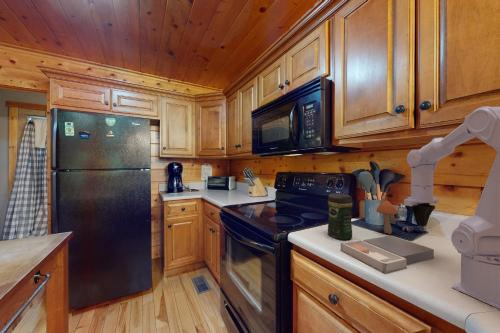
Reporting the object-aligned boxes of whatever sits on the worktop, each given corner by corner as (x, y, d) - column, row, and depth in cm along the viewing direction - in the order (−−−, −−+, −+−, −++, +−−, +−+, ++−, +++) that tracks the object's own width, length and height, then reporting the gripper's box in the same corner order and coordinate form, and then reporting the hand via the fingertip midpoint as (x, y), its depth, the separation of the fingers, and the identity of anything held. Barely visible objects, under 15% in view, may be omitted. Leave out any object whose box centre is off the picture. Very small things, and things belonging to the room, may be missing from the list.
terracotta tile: (359, 251, 66) (359, 257, 66) (369, 249, 68) (369, 255, 68) (348, 246, 70) (348, 251, 70) (357, 244, 72) (357, 249, 72)
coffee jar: (356, 239, 83) (356, 194, 83) (341, 241, 81) (341, 195, 80) (338, 231, 92) (338, 191, 92) (324, 234, 90) (324, 192, 89)
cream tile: (378, 260, 60) (378, 267, 60) (389, 258, 61) (389, 264, 61) (365, 254, 64) (365, 260, 64) (376, 252, 65) (375, 258, 65)
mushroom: (371, 231, 93) (372, 199, 93) (383, 229, 96) (384, 198, 95) (389, 237, 85) (389, 202, 85) (401, 235, 88) (401, 201, 88)
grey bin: (406, 268, 60) (406, 258, 60) (384, 273, 57) (384, 264, 57) (359, 246, 75) (359, 239, 75) (340, 250, 72) (340, 242, 72)
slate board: (433, 258, 66) (433, 249, 66) (402, 266, 61) (402, 256, 61) (391, 242, 79) (391, 235, 79) (363, 248, 74) (363, 240, 74)
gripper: (422, 183, 74) (421, 220, 74) (394, 185, 69) (394, 224, 69) (446, 185, 67) (445, 226, 67) (417, 187, 62) (417, 230, 63)
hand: (421, 225), depth 68 cm, fingers closed
